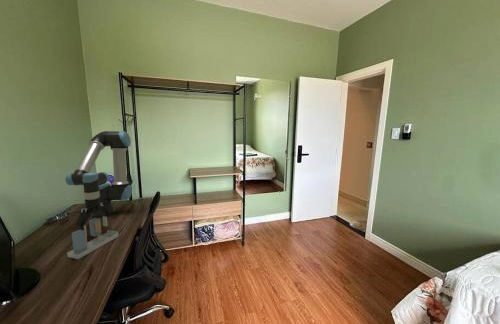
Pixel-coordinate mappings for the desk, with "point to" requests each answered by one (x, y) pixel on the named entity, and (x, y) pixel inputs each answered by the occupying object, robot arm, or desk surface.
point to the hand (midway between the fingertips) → (95, 230)
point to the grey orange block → (95, 227)
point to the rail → (89, 243)
